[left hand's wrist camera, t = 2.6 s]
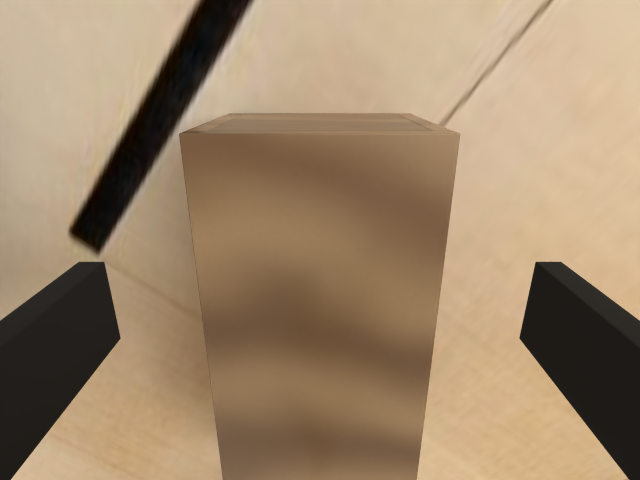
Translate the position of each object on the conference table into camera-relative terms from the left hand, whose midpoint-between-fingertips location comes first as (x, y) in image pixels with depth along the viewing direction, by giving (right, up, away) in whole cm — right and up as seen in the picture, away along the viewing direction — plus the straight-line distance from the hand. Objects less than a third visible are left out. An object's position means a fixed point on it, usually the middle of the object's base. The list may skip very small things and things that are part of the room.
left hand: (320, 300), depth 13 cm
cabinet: (0, 0, +16) cm, 16 cm away
